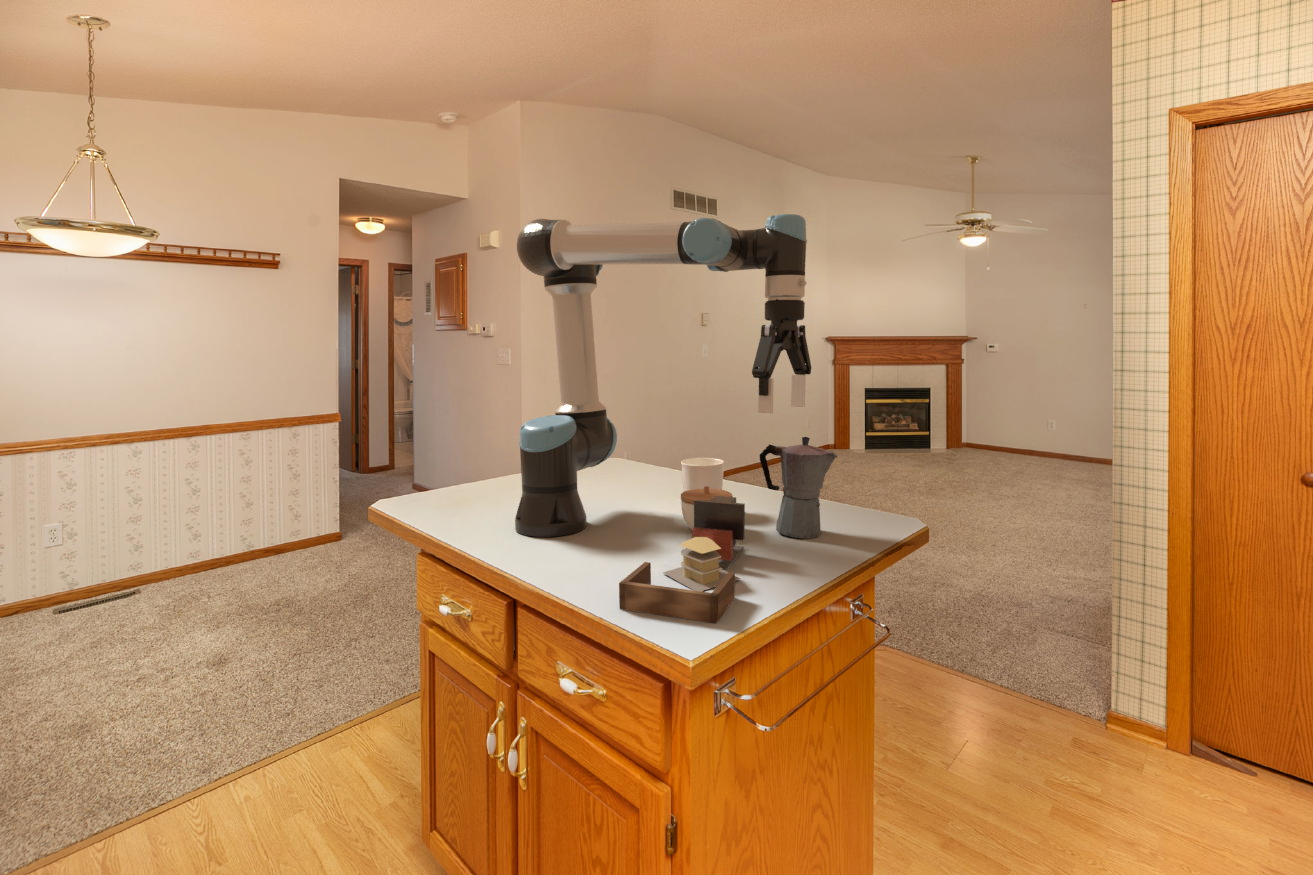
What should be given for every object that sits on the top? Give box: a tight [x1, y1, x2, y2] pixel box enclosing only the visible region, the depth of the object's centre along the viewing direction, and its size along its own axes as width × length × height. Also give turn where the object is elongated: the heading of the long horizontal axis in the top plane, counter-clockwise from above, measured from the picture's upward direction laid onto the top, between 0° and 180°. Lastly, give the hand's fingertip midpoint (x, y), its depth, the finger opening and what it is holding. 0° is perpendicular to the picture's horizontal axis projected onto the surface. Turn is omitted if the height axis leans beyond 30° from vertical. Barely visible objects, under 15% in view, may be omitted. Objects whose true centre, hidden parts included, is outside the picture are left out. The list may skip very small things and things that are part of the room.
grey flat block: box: [719, 545, 745, 570], centre depth 122 cm, size 6×12×1 cm, turn 158°
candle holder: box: [680, 457, 725, 493], centre depth 152 cm, size 10×10×12 cm
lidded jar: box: [680, 486, 734, 530], centre depth 138 cm, size 11×11×9 cm
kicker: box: [691, 496, 746, 561], centre depth 120 cm, size 9×9×9 cm
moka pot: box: [759, 436, 838, 539], centre depth 135 cm, size 10×15×20 cm, turn 78°
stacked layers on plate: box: [662, 537, 742, 592], centre depth 111 cm, size 10×9×6 cm
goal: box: [618, 561, 736, 624], centre depth 100 cm, size 15×10×4 cm, turn 68°
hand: (782, 409), depth 130 cm, fingers open, 13 cm apart
